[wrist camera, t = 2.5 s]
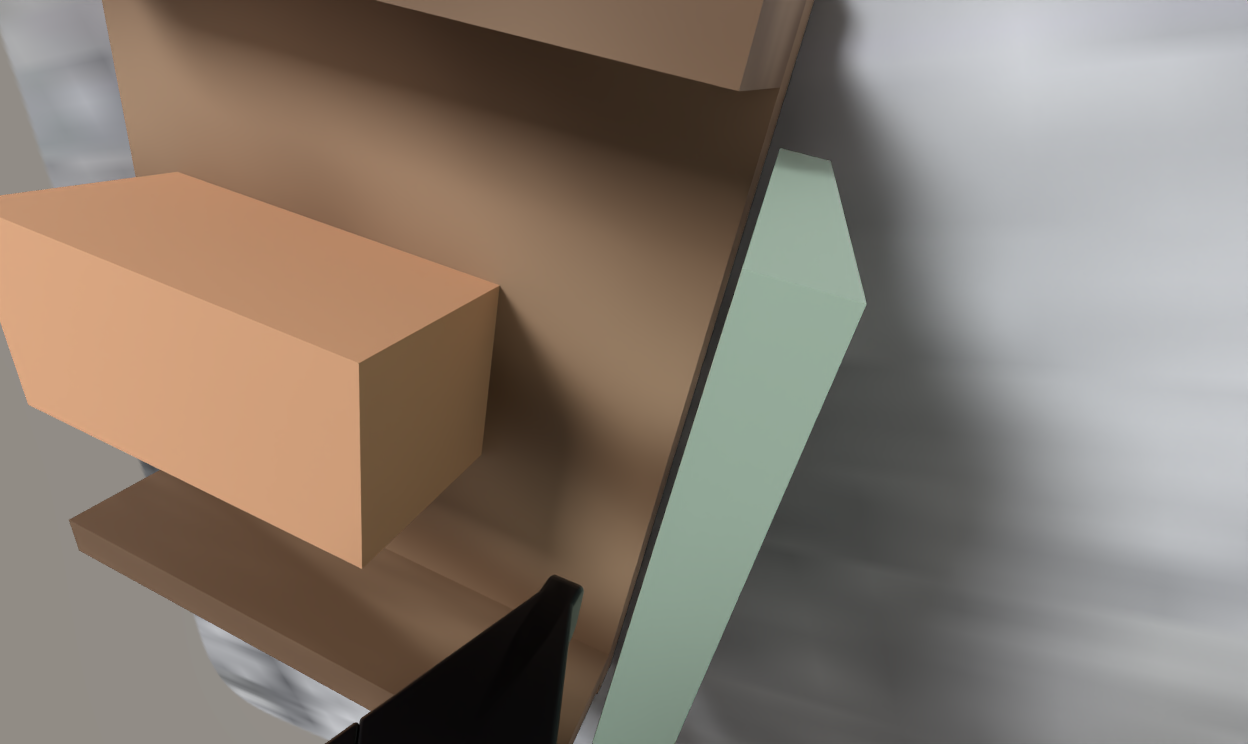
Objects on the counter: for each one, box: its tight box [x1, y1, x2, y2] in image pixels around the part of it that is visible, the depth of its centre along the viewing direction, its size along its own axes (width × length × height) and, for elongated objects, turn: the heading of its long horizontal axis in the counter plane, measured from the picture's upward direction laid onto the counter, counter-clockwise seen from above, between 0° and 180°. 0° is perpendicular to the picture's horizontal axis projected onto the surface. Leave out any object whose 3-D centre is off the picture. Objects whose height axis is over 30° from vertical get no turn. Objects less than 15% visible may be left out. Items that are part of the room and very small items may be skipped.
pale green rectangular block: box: [592, 148, 867, 744], centre depth 10 cm, size 13×1×6 cm, turn 168°
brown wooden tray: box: [69, 0, 814, 744], centre depth 14 cm, size 18×15×4 cm
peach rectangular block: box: [0, 172, 500, 569], centre depth 13 cm, size 5×9×4 cm, turn 78°
